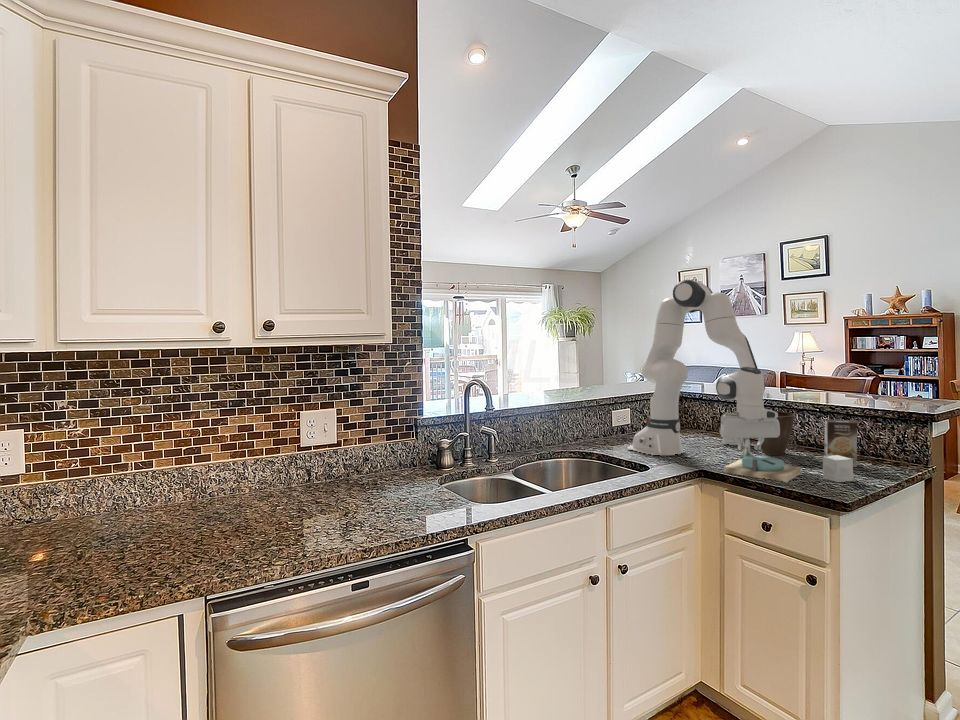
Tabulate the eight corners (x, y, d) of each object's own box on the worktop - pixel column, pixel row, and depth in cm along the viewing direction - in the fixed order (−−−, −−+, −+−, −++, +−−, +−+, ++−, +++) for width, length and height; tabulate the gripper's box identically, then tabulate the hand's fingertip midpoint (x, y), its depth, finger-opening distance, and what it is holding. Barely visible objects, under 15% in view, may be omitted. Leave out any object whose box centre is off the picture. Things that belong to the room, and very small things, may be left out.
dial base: (724, 472, 190) (724, 455, 190) (740, 464, 200) (740, 448, 200) (786, 482, 176) (786, 464, 175) (800, 473, 185) (800, 456, 185)
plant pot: (744, 452, 218) (743, 413, 217) (766, 447, 225) (766, 409, 224) (780, 459, 205) (780, 417, 204) (802, 454, 212) (802, 413, 212)
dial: (728, 460, 197) (727, 438, 197) (761, 458, 199) (760, 436, 198) (757, 472, 181) (757, 448, 180) (792, 469, 182) (792, 446, 182)
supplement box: (740, 446, 230) (740, 416, 229) (721, 444, 234) (721, 415, 234) (744, 442, 236) (743, 414, 235) (726, 441, 240) (725, 413, 240)
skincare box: (853, 481, 174) (853, 458, 174) (836, 482, 174) (836, 460, 173) (838, 476, 180) (838, 454, 180) (822, 477, 180) (822, 455, 179)
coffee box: (826, 466, 193) (826, 421, 193) (823, 462, 199) (823, 418, 198) (857, 468, 190) (857, 422, 189) (853, 463, 195) (853, 419, 194)
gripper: (724, 414, 193) (724, 452, 194) (782, 413, 193) (781, 451, 194) (717, 411, 200) (717, 447, 201) (773, 410, 199) (772, 447, 200)
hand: (749, 449), depth 197 cm, fingers open, 5 cm apart
